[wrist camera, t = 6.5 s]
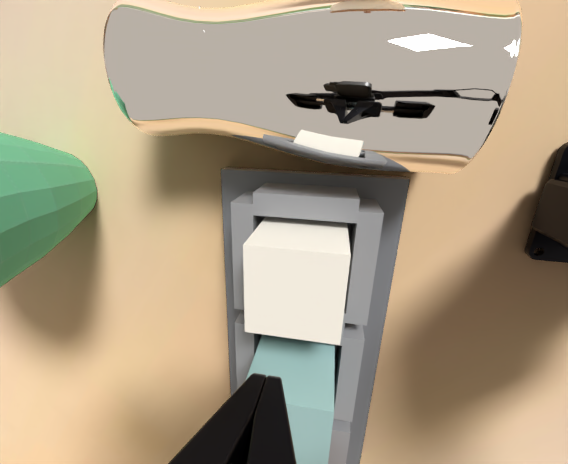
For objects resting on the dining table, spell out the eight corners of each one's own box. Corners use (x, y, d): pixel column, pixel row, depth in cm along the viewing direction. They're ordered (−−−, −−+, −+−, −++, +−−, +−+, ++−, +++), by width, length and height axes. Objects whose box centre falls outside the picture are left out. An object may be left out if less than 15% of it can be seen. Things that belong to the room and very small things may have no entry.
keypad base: (405, 176, 17) (425, 189, 13) (358, 454, 25) (362, 510, 21) (226, 167, 19) (199, 176, 15) (236, 430, 27) (220, 479, 23)
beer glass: (192, 50, 18) (448, 66, 16) (174, 160, 18) (429, 192, 15) (108, -71, 11) (543, -74, 9) (77, 106, 11) (511, 150, 9)
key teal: (334, 338, 18) (334, 412, 13) (328, 393, 19) (326, 475, 15) (264, 329, 19) (240, 395, 14) (263, 382, 20) (241, 458, 15)
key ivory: (346, 219, 16) (350, 255, 12) (339, 288, 18) (339, 345, 13) (268, 213, 17) (242, 244, 12) (267, 280, 18) (244, 331, 14)
